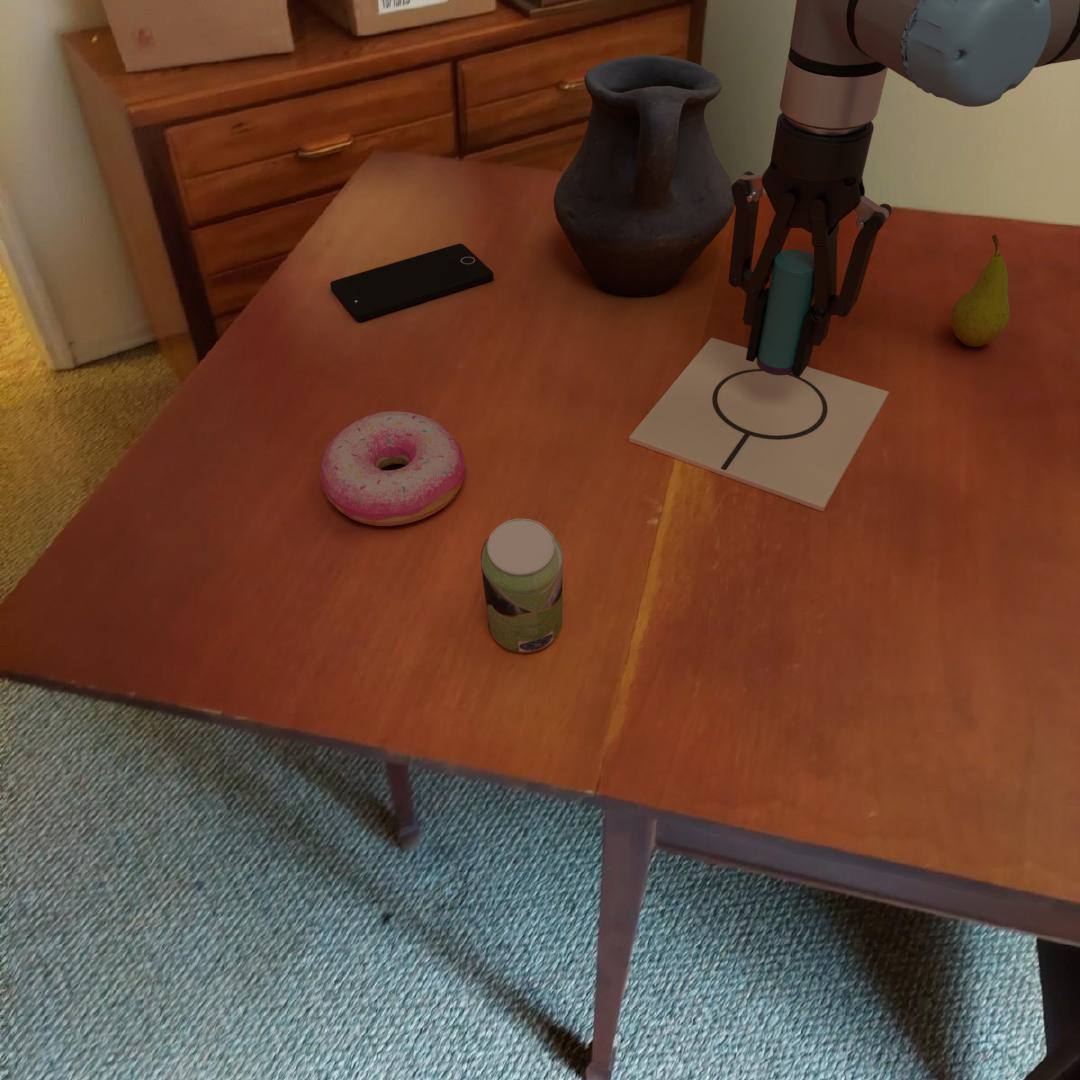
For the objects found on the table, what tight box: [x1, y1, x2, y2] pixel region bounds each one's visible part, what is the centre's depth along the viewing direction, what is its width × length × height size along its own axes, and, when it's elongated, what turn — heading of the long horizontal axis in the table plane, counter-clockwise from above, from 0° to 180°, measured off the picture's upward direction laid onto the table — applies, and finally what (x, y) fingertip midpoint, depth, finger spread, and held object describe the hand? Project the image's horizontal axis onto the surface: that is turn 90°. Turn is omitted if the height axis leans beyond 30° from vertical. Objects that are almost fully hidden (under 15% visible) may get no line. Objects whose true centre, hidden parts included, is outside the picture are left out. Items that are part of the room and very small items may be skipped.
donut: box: [319, 410, 466, 527], centre depth 89 cm, size 14×13×5 cm
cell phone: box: [329, 243, 495, 323], centre depth 115 cm, size 9×18×1 cm, turn 120°
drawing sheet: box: [628, 336, 890, 513], centre depth 97 cm, size 20×20×1 cm
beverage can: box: [480, 518, 564, 654], centre depth 74 cm, size 6×7×12 cm
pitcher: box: [553, 54, 735, 297], centre depth 107 cm, size 21×22×25 cm
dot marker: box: [756, 249, 814, 375], centre depth 89 cm, size 4×4×11 cm
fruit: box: [950, 234, 1011, 348], centre depth 101 cm, size 6×6×12 cm
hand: (777, 360), depth 92 cm, fingers closed on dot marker, 4 cm apart
